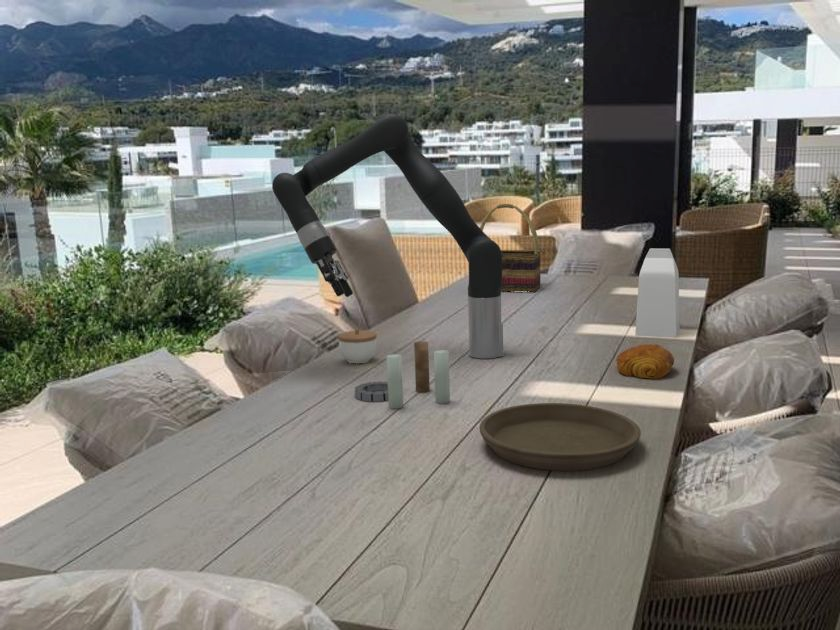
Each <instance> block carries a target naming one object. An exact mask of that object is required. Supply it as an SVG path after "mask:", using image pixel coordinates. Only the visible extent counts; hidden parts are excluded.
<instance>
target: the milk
mask: <svg viewBox="0 0 840 630" xmlns="http://www.w3.org/2000/svg"><path fill="white" fill-rule="evenodd" d="M679 279H680V277H679V268H678V266H677V263H676V260H675V258H674V255H673V252H672V250H671V248H649V250H648V252H647V254H646V255H645V258H644V260H643V263H642V266H641V268H640V270H639V275H638V284H637V285H638V288H637V300H636V301H637V303H636V318H635V332H634V333H635V335H634V336H636V337H651V338H668V339H669V338H671V339H674V338H677V337H678V335H679V333H680V330H681V324H680V323H681V322H680V321H681V320H680V287H679V285H680V282H679V281H680V280H679Z"/></svg>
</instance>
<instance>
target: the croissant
mask: <svg viewBox="0 0 840 630" xmlns="http://www.w3.org/2000/svg"><path fill="white" fill-rule="evenodd" d="M615 362H616V366H617V371H618V372H620V373H621V374H623V375H624V376H626V377H629V378H630V377H631V378H633V377H636V378H638V379H639V378H641V379H648V380H649V379H650V380H659V379H661V378H664V376H666V375H667V374H669V372H670V371H671V368H672V367H673V366H674V364H675V357H674V356H673V353H671V352H670V350H668V349H666V348H664V347H663V346H661V345H658V344H640V345H637V346H633V347H629V348H626V350H623V351H622V352H620V353H619V354H618V355H617V357H616V359H615Z"/></svg>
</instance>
